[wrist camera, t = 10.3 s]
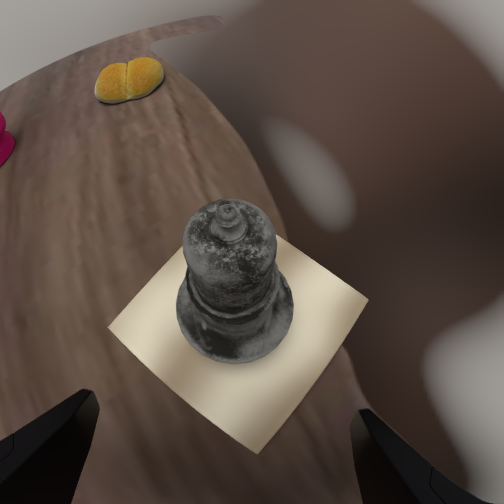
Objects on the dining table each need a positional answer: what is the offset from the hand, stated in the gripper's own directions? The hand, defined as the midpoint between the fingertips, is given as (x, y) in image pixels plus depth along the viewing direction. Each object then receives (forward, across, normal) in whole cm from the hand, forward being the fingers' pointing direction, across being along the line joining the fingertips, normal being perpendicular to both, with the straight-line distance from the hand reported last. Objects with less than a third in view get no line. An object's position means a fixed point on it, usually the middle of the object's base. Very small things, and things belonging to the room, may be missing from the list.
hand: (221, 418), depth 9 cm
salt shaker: (+9, 0, +2) cm, 10 cm away
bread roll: (+32, +16, -16) cm, 39 cm away
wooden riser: (+11, 0, +4) cm, 12 cm away
